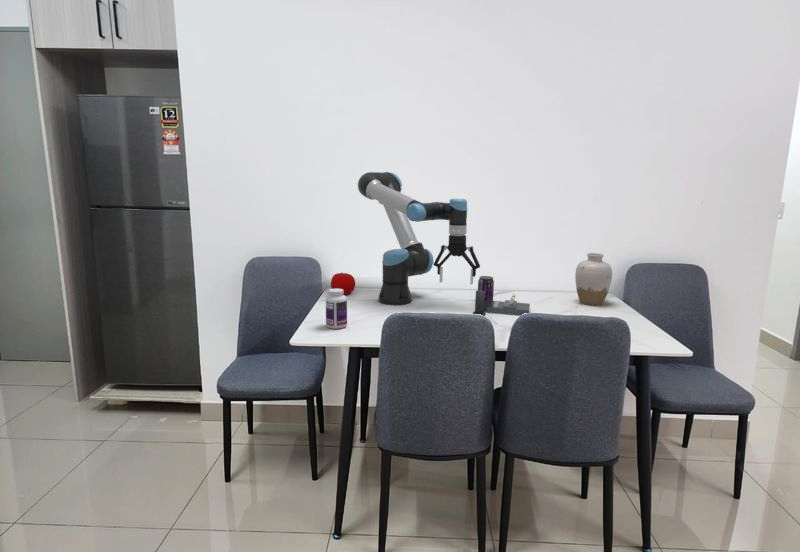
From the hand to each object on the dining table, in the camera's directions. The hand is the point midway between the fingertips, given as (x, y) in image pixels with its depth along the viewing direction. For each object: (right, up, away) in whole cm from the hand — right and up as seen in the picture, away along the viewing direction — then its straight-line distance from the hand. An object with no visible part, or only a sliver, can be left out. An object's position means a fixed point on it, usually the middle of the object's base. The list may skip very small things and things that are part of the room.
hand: (456, 282), depth 235 cm
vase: (+64, -10, +12) cm, 66 cm away
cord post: (+9, -13, -10) cm, 19 cm away
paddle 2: (+22, -9, -7) cm, 25 cm away
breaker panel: (+20, -12, -3) cm, 23 cm away
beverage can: (+14, -9, +10) cm, 20 cm away
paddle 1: (+24, -8, -2) cm, 25 cm away
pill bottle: (-49, -17, -30) cm, 60 cm away
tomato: (-52, -6, +24) cm, 58 cm away
